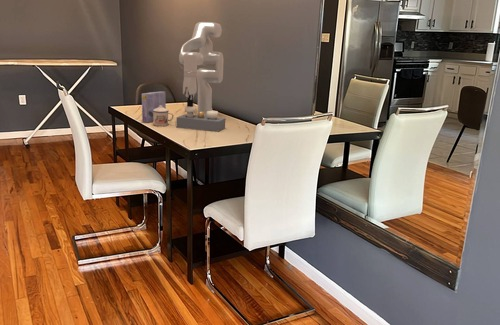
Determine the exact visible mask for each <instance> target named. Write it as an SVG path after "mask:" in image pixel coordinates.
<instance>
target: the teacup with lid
mask: <svg viewBox="0 0 500 325" xmlns="http://www.w3.org/2000/svg"><path fill="white" fill-rule="evenodd" d="M169 115H171V119H169ZM153 119H154V122H153V125H154V126H155V127H167V126H168V125H169V122H172V121H173V119H174V114H173V113H172V112H169V109H167V108H166V109H165V108H164V107H162V106H161V105H160V106H159V107H158V108H156V109H154V110H153Z"/></svg>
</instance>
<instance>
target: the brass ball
mask: <svg viewBox="0 0 500 325" xmlns="http://www.w3.org/2000/svg"><path fill="white" fill-rule="evenodd" d="M197 112H198V111H197ZM198 118H204V112H203V111H199V112H198Z"/></svg>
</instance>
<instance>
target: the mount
mask: <svg viewBox="0 0 500 325" xmlns="http://www.w3.org/2000/svg"><path fill="white" fill-rule="evenodd" d="M176 128H178V129H185V130H186V129H187V130H195V131H196V130H197V131H198V130H199V131H205V132H217V133H219V132H221V131H222V130H224V129H226V117H219V116H218V117H216V118H215V120H210V119H209V117H207V116H204V118H198V115H195V114H193V118H190V117H187V113H185V114H181V115H179V116H176Z"/></svg>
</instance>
